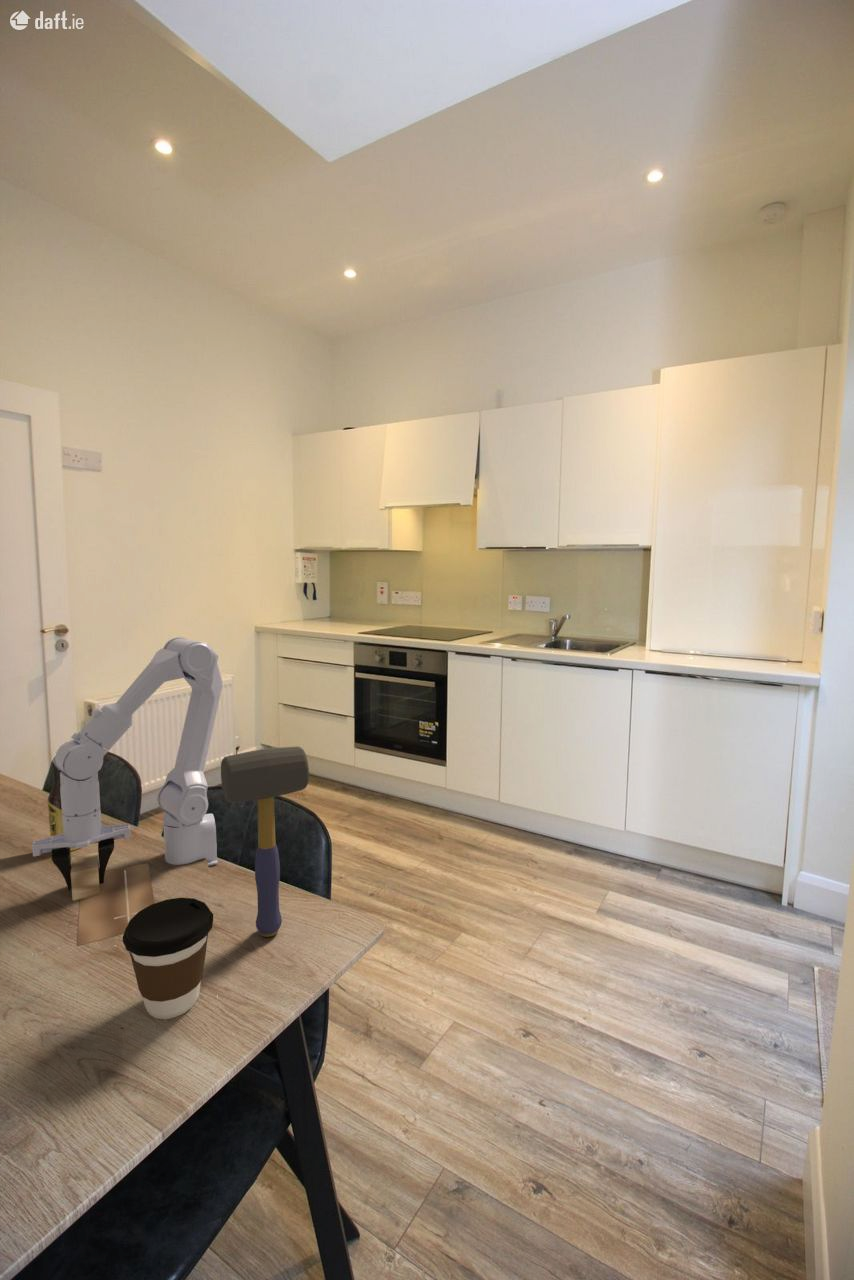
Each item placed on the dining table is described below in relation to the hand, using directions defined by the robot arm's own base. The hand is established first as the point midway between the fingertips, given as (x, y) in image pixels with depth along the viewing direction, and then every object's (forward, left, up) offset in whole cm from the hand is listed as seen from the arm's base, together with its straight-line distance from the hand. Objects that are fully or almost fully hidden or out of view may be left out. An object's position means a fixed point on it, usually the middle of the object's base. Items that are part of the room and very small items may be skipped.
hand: (86, 884), depth 102 cm
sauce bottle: (+3, -20, -3) cm, 20 cm away
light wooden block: (0, 0, -2) cm, 2 cm away
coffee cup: (-11, +34, -3) cm, 36 cm away
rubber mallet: (-26, +25, -3) cm, 36 cm away
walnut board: (-5, +6, -2) cm, 8 cm away
